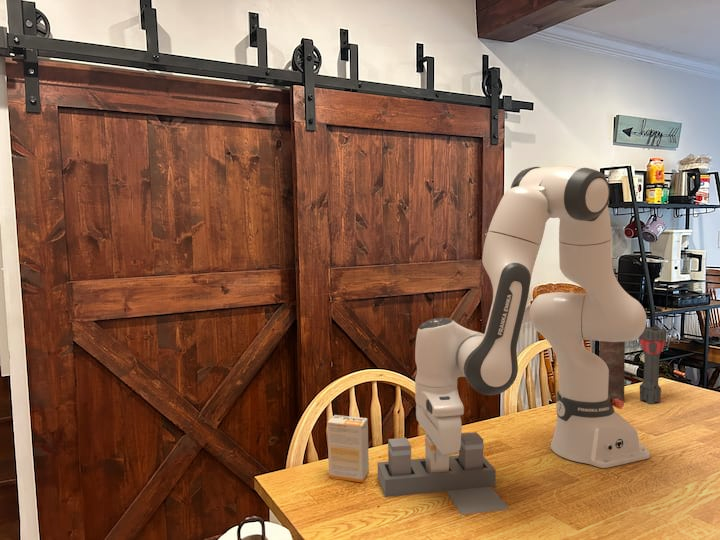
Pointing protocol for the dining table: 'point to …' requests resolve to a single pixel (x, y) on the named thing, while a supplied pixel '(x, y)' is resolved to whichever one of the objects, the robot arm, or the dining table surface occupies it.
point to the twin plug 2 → (471, 451)
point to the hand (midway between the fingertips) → (435, 456)
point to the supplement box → (348, 448)
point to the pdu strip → (435, 478)
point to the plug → (433, 458)
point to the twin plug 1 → (399, 457)
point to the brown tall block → (614, 367)
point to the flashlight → (651, 363)
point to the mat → (476, 500)
